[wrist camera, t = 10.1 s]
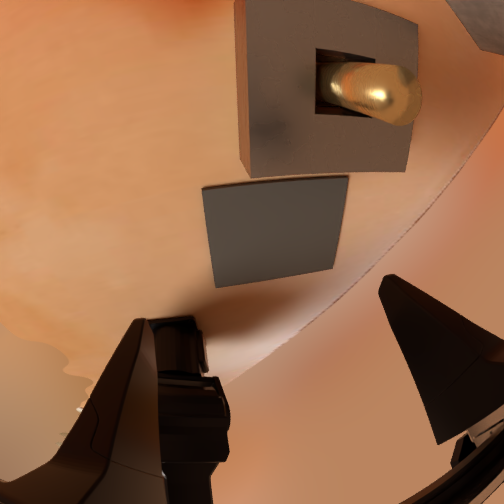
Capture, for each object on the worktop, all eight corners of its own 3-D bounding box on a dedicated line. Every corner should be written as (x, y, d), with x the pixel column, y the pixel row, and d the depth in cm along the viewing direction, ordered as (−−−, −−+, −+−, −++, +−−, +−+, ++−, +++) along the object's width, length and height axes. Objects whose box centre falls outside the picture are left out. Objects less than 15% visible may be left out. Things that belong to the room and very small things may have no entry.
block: (239, 159, 19) (250, 178, 16) (233, 2, 12) (244, -15, 9) (376, 154, 21) (405, 172, 18) (384, 26, 13) (417, 24, 10)
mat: (215, 285, 26) (215, 288, 26) (201, 188, 20) (201, 190, 19) (330, 266, 28) (332, 268, 27) (346, 176, 21) (348, 177, 21)
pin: (299, 98, 17) (372, 122, 10) (299, 60, 15) (376, 59, 8) (336, 100, 17) (418, 128, 10) (337, 64, 15) (423, 73, 8)
